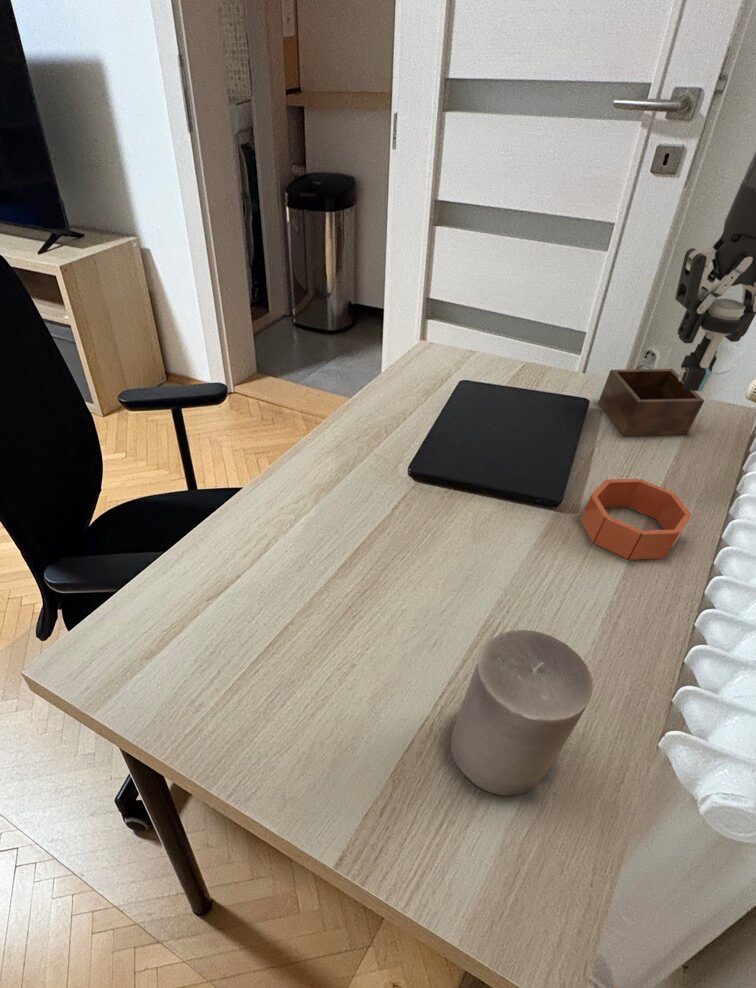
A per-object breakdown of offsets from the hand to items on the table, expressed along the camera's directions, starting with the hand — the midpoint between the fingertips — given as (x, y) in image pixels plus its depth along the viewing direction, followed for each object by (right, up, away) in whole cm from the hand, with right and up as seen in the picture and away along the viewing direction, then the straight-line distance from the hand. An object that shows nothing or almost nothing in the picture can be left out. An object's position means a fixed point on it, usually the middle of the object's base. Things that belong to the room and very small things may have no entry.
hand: (708, 339), depth 77 cm
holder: (+8, -1, +30) cm, 31 cm away
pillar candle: (-31, -48, -15) cm, 59 cm away
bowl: (-5, -23, +10) cm, 25 cm away
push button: (0, -4, +4) cm, 6 cm away
